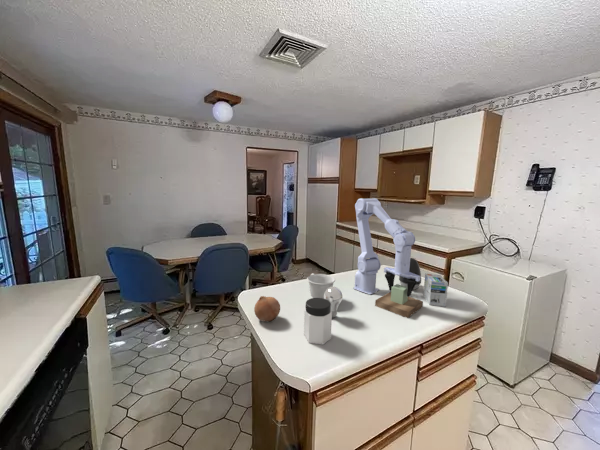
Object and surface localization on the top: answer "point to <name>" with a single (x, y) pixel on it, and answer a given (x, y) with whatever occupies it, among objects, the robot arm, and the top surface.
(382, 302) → the walnut base
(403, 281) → the black egg-shaped speaker
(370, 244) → the robot arm
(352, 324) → the top surface
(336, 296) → the light bulb
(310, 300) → the jar
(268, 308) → the onion
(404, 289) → the green block
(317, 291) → the teacup
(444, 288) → the light bulb box
